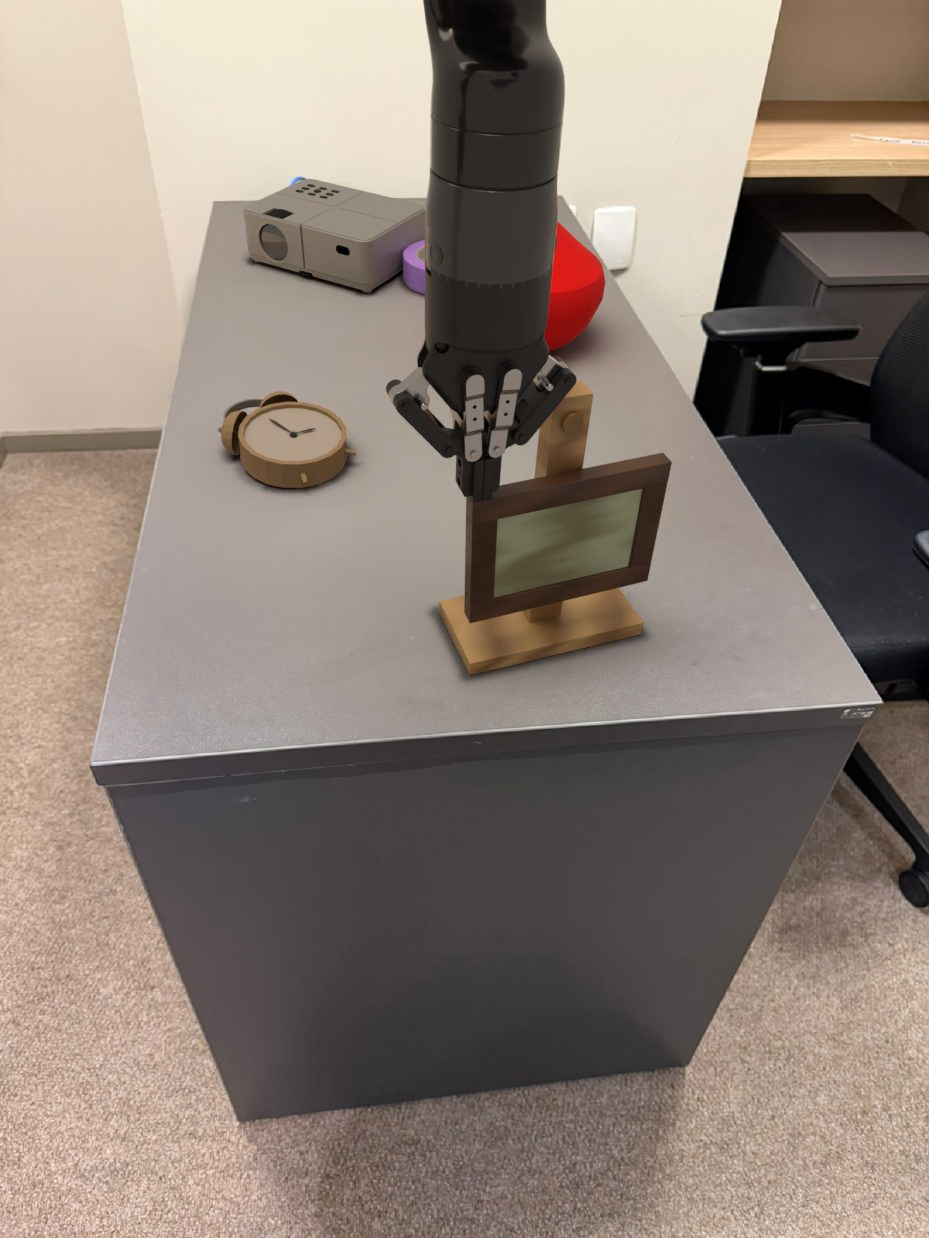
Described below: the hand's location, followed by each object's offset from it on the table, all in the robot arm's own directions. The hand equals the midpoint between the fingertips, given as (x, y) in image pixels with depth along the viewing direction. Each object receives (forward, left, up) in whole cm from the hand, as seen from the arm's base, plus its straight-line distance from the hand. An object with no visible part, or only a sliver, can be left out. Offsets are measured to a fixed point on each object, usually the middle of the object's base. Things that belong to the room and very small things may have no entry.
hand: (476, 495), depth 64 cm
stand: (+7, +2, -17) cm, 19 cm away
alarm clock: (-9, +35, -17) cm, 40 cm away
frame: (+8, 0, -12) cm, 14 cm away
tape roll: (+22, +73, -17) cm, 78 cm away
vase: (+27, +53, -17) cm, 62 cm away
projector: (+9, +84, -17) cm, 86 cm away
